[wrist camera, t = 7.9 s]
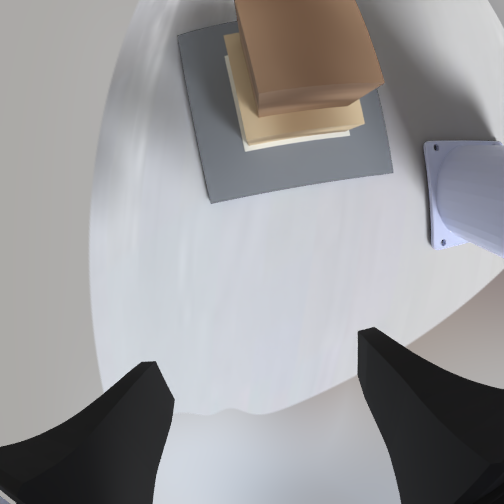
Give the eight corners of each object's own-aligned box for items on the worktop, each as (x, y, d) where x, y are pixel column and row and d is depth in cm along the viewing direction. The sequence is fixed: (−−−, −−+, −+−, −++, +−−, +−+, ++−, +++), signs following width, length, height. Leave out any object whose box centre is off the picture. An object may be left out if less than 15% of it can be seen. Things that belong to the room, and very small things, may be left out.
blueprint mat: (349, 16, 13) (352, 12, 13) (390, 172, 17) (394, 173, 16) (179, 38, 14) (177, 35, 14) (212, 203, 18) (210, 204, 17)
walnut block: (325, 30, 11) (349, -13, 6) (347, 106, 12) (384, 82, 8) (240, 40, 11) (233, -6, 7) (258, 117, 12) (258, 93, 8)
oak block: (322, 46, 14) (336, 23, 10) (344, 131, 16) (365, 123, 12) (229, 58, 14) (223, 35, 11) (248, 145, 16) (246, 139, 13)
